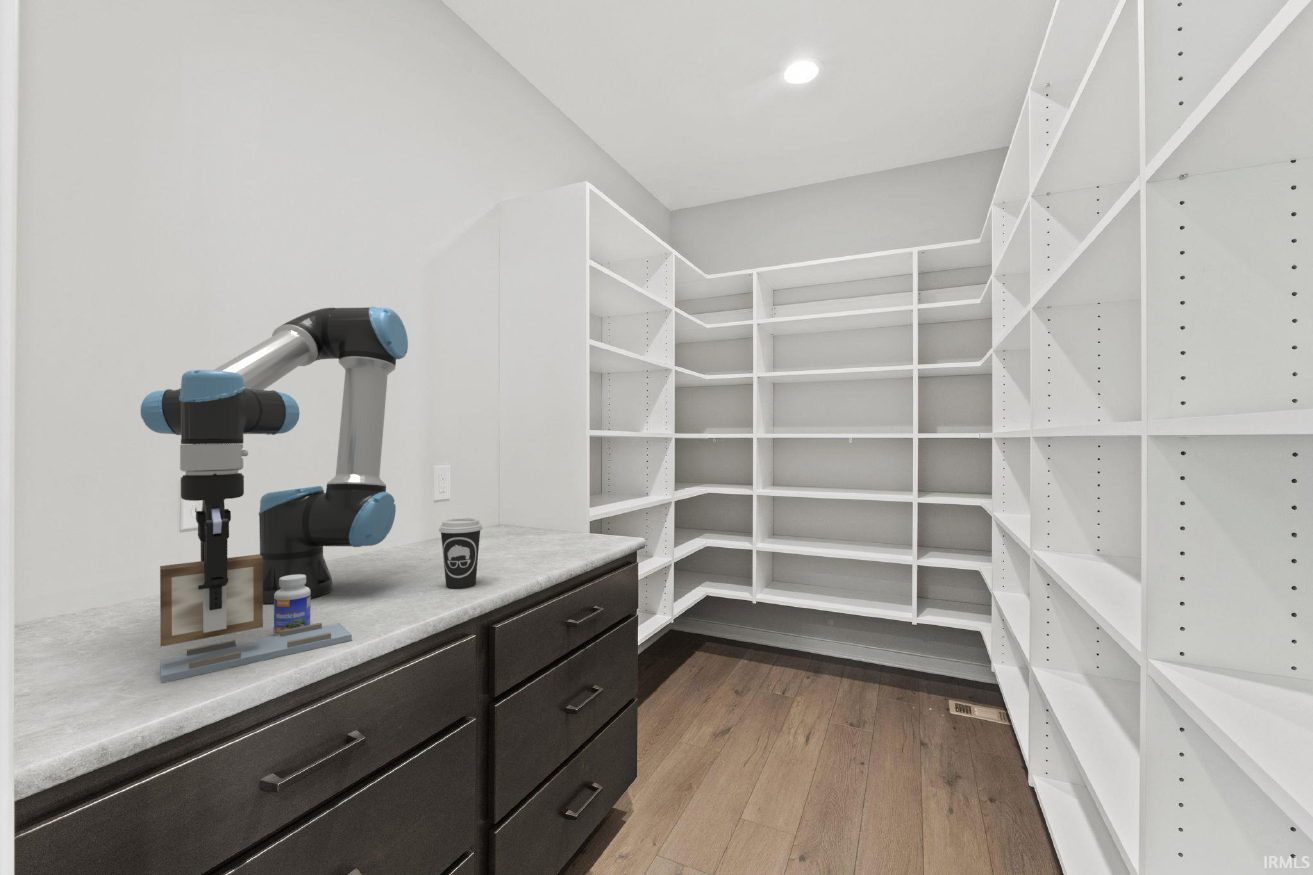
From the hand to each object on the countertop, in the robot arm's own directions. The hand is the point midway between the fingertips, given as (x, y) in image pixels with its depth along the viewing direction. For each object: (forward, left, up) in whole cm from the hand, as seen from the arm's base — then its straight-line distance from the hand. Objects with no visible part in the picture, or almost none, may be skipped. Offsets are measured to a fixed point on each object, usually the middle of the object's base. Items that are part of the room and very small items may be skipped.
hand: (213, 626), depth 85 cm
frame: (0, 0, -1) cm, 1 cm away
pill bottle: (-8, +11, -6) cm, 15 cm away
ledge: (0, +6, -6) cm, 8 cm away
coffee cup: (-18, +46, -6) cm, 50 cm away
